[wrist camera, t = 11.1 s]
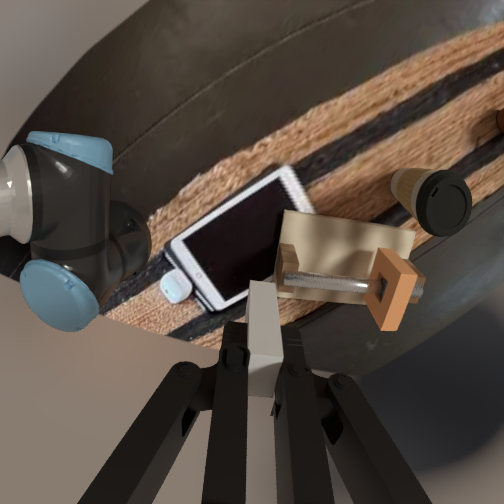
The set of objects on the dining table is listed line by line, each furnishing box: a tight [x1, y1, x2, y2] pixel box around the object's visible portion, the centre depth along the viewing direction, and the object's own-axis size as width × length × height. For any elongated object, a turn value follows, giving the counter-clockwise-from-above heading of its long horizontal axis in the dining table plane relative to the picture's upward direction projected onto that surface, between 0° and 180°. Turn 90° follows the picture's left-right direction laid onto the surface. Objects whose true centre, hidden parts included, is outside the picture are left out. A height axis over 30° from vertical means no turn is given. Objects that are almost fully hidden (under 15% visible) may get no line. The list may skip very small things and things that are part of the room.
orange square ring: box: [363, 247, 418, 331], centre depth 48 cm, size 3×10×10 cm, turn 173°
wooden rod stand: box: [272, 210, 426, 305], centre depth 51 cm, size 25×16×9 cm, turn 83°
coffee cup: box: [390, 168, 472, 237], centre depth 43 cm, size 10×10×15 cm
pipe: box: [283, 271, 423, 298], centre depth 47 cm, size 24×3×3 cm, turn 83°
